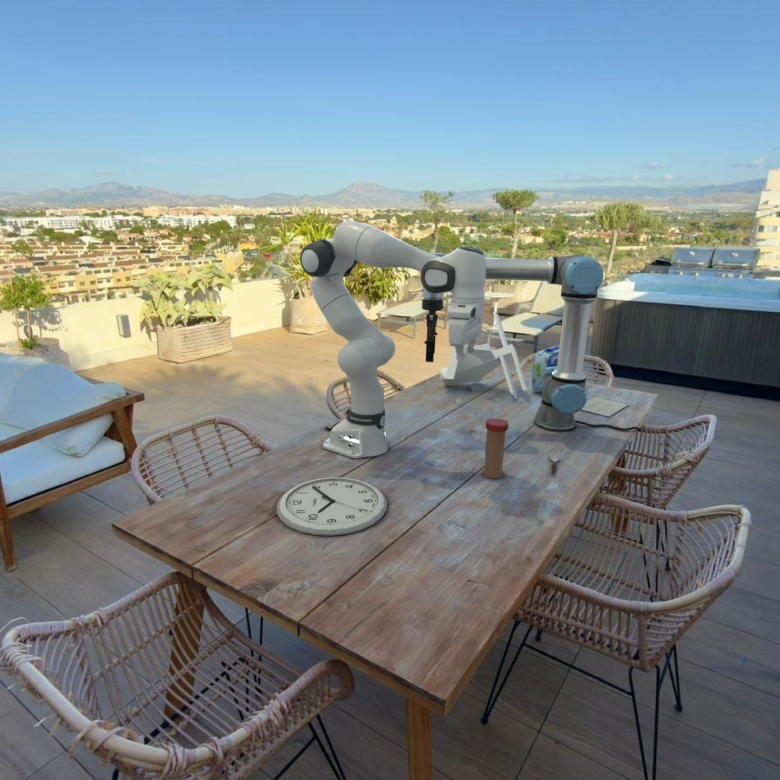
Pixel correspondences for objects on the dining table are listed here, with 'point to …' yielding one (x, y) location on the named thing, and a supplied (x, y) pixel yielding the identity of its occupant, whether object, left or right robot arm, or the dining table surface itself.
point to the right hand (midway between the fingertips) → (430, 357)
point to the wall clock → (331, 506)
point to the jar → (494, 454)
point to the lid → (497, 425)
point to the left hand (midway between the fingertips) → (465, 356)
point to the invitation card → (603, 406)
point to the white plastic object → (483, 363)
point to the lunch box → (543, 366)
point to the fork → (554, 461)
